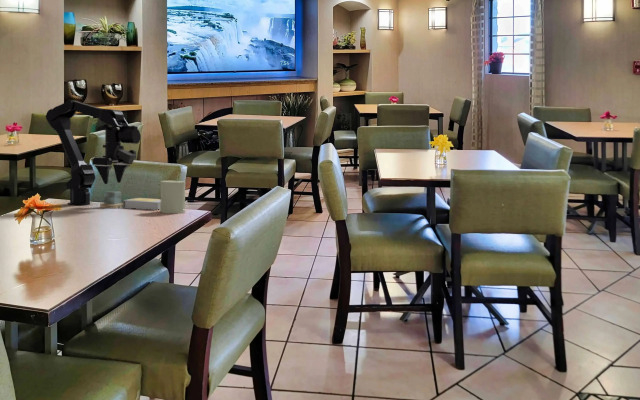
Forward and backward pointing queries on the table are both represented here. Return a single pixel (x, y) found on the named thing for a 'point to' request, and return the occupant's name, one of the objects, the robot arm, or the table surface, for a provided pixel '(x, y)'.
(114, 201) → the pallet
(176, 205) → the can
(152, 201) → the dock
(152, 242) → the table surface
